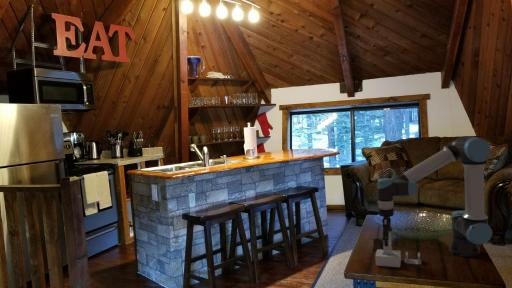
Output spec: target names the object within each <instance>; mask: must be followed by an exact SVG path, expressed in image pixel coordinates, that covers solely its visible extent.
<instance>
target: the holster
mask: <svg viewBox="0 0 512 288" xmlns="http://www.w3.org/2000/svg"><path fill="white" fill-rule="evenodd" d="M404 264H412V265H422V260H421V252H417V259H413V258H409V252H408V251H405V257H404Z"/></svg>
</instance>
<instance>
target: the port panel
mask: <svg viewBox="0 0 512 288" xmlns="http://www.w3.org/2000/svg"><path fill="white" fill-rule="evenodd" d="M374 258H375V266H379V267H393V268H401V264H402V253H401V250H393V249H392V255H384V251H383V250H379V249H377V250H376V251H375V257H374Z"/></svg>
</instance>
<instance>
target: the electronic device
mask: <svg viewBox="0 0 512 288" xmlns="http://www.w3.org/2000/svg"><path fill="white" fill-rule="evenodd" d="M382 238H383V237H381V238H378V237H377V238H374V239H372V240H373V252H377V249H379V250H383V246H384V242H383V240H382Z"/></svg>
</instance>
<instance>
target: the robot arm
mask: <svg viewBox="0 0 512 288" xmlns="http://www.w3.org/2000/svg"><path fill="white" fill-rule="evenodd" d="M491 153H492V148H491V145H490V143H489V142H488V141H487V140H485V139H483V138H481V137H475V136H469V135H463V136H460V137H458V138H456V139H454V140H453V141H450V142H449V143H447V144H446V145H444V146H443V149H442V150H439V151H438V152H437V153H434V154H433V155H431V156H430V157H428V158H426V159H425V160H423V161H421V162H419V163H418V164H416V165H414V166H412V168H410V169H407V170H406V171H405V172H403V173H401V174H399V175H394V176H392V177H391V178H390V177H382V178H378V180H377V187H376V188H377V199H378V200H377V201H376V204H378V215H379V217H383V218H382V237H381V238H382V240H383V242H384V252H390V250H389V243H391V244H392V232H393V229H392V225H391V224H392V222H391V220H392V219H391V218H392V217H394V214H395V211H394V197H414V196H417V193H418V184H417V182H418V181H420V180H422V179H424V178H425V177H427V176H429V175H430V174H432V173H434V172H436V171H437V170H439V169H440V168H441V169H442V167H444V166H446V165H447V164H449V163H451V162H457V161H458V160H460V164H461V165H462V166H463V168H464V169H463V170H464V203H465V204H464V206H465V207H464V210H454V211H452V212H451V216H450V218H451V236H452V237H451V241H450V243H449V247H448V250H449V252H451V253H452V254H453V255H454V256H459V257H465V258H473V257H478V256H479V255H481V249H480V246H479V245H484V244H486V243H488V242H489V241H490V240H491V238H492V236H493V229H492V228H491V226H490V225H489V216H488V215H487V214H485V182H484V181H485V180H484V178H485V176H484V175H485V174H484V172H485V171H484V167H485V166H487V164H488V159H489V157H490V156H491Z"/></svg>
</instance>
